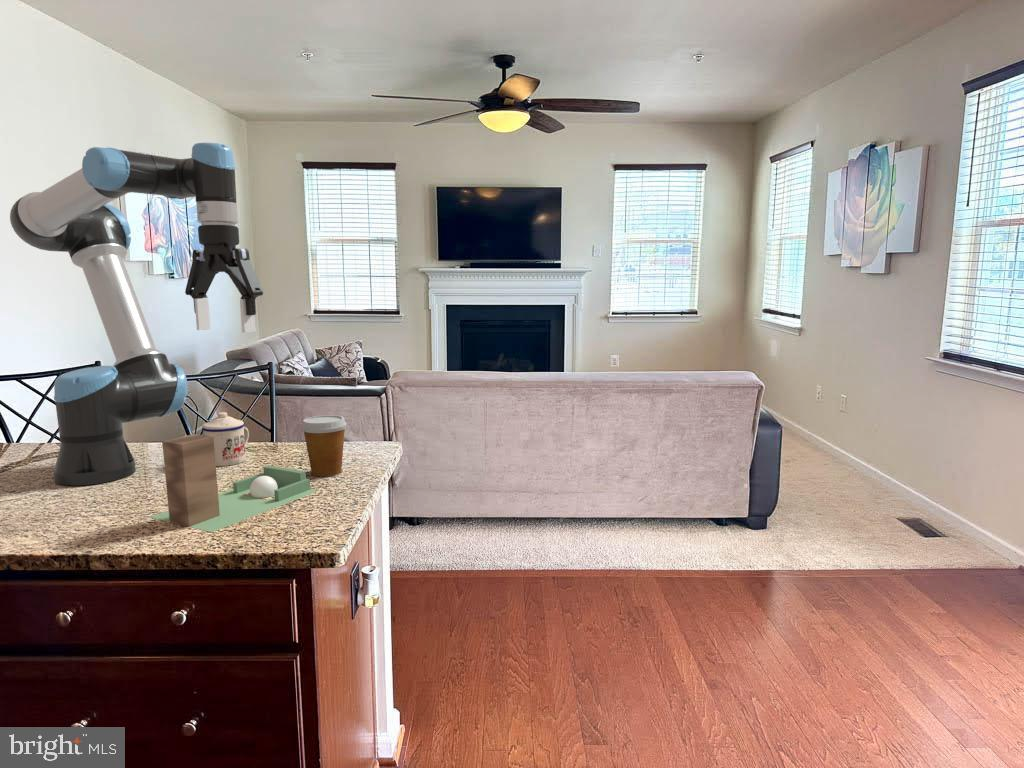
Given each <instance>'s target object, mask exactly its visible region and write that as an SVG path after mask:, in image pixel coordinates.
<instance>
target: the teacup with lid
mask: <svg viewBox="0 0 1024 768" xmlns="http://www.w3.org/2000/svg"><path fill="white" fill-rule="evenodd" d="M201 430H202V432H203V435H204V436H211V437H214V449H215V462H216V467H228V466H229V465H230V466H234V465H239V464H241V463H243V462H244V461H246V458H247V455H246V445H247V444H248V441H249V437H250V432H249V429H248V428H247V427H246V426H245V423H244V421H243V420H242V419H236V418H234V417H232V416H229V415H228V413H227V412H225V411H221V412H218V413H217V416H216V417H215V418H213V419H211V420H210V421H207V422H205V423H203V425H202V427H201Z"/></svg>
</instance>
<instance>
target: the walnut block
mask: <svg viewBox="0 0 1024 768" xmlns="http://www.w3.org/2000/svg"><path fill="white" fill-rule="evenodd" d="M162 452H163V453H162V454H163V464H164V473H165V475H164V476H165V486H166V496H167V507H168V511H169V519H170V522H169V523H171V522H172V524H175V523H176V524H175V525H179V524H180V526H183V525H184V527H187V526H188V528H191V527H190V526H193V525H196V524H198V523H201V522H204V521H206V520H209V519H212V518H215V517H217V516H220V511H219V499H218V494H219V491H218V490H219V488H218V476H217V474H218V473H217V466H216V462H215V449H214V437H211V436H204V434H203V435H202V434H197V433H193V434H188V435H183V436H181V437H175V438H171V439H166V440H163V441H162Z"/></svg>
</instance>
